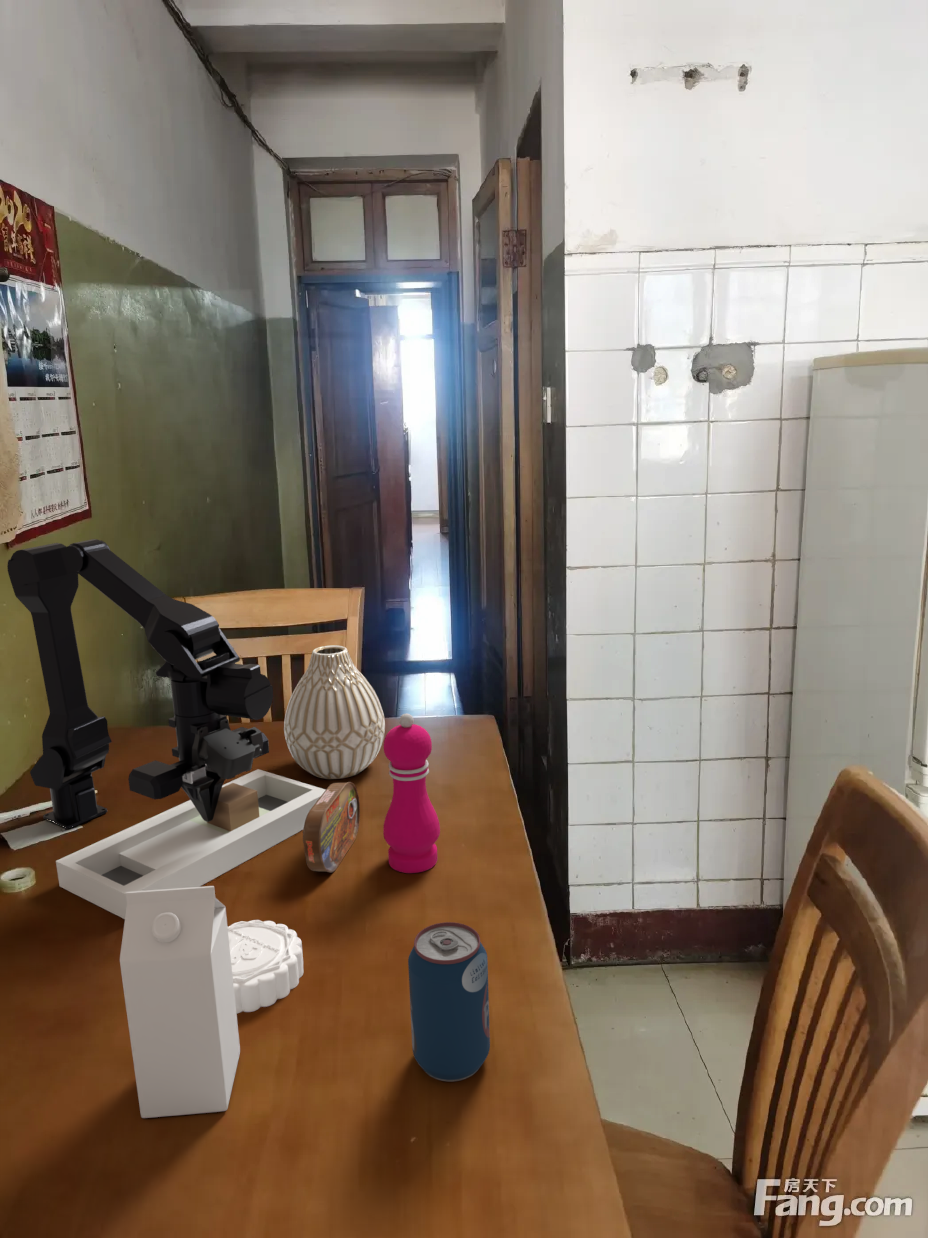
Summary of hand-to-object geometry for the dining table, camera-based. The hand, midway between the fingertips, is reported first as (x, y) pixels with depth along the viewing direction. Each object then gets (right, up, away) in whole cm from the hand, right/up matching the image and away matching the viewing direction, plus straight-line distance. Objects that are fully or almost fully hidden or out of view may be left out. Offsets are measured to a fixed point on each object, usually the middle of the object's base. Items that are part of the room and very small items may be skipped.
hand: (208, 820), depth 120 cm
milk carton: (+11, -14, -42) cm, 45 cm away
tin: (+17, -4, -2) cm, 18 cm away
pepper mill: (+28, -4, -5) cm, 28 cm away
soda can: (+33, -13, -40) cm, 53 cm away
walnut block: (+2, -1, +3) cm, 4 cm away
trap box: (0, -4, 0) cm, 4 cm away
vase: (+14, +3, +25) cm, 29 cm away
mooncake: (+12, -10, -27) cm, 31 cm away
